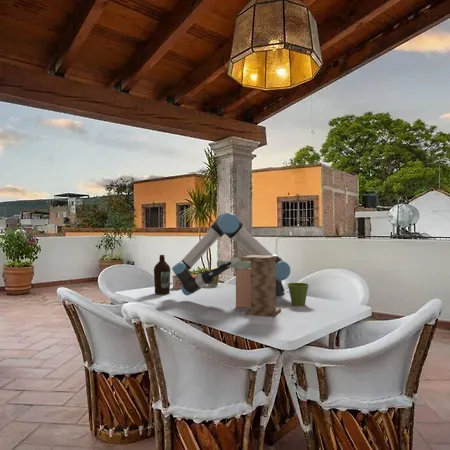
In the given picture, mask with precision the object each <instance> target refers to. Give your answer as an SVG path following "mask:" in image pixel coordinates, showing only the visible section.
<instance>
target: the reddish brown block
mask: <svg viewBox="0 0 450 450" xmlns="http://www.w3.org/2000/svg"><path fill="white" fill-rule="evenodd" d="M235 307H237V308H247V309H248V308H249V309H251V268H242V269H238V270H236V271H235Z"/></svg>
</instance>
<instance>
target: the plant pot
mask: <svg viewBox="0 0 450 450" xmlns="http://www.w3.org/2000/svg"><path fill="white" fill-rule="evenodd" d="M286 286H288V291H289V295H290V301H291V302H290V303H291V305H292V306H296V307H302V306H305V305H306V299H307V295H308V289H309V286H310V284H309V283H306V282H289V283H287V284H286Z"/></svg>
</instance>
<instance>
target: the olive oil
mask: <svg viewBox="0 0 450 450" xmlns="http://www.w3.org/2000/svg"><path fill="white" fill-rule="evenodd" d="M158 258H159V261H158V262H157V263H156V264H155V265H154V267H153V279H154V282H153V283H154V294H155V295H159V296H163V295H169V294H171V293H170V292H171V291H170V290H171V289H170V287H171V267H170V265H169V264H168V263H167V261H165V260H166V259H165V254H159V257H158Z"/></svg>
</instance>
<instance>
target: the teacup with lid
mask: <svg viewBox="0 0 450 450" xmlns="http://www.w3.org/2000/svg"><path fill="white" fill-rule="evenodd" d="M181 285H182V283H181V281H180V280H179V279H178V277H177V276H176V274H175V273H174V274H172V289H175V290H181Z"/></svg>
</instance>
